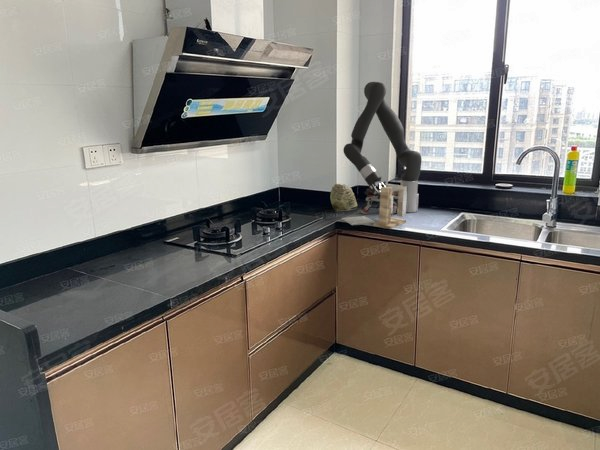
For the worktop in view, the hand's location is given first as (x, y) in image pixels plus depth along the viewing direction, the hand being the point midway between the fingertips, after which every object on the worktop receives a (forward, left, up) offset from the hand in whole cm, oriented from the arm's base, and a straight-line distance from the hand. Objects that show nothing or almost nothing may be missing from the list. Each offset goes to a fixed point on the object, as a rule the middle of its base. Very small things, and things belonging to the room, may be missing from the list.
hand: (389, 200), depth 222 cm
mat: (+14, -5, -11) cm, 19 cm away
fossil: (+10, -32, -11) cm, 36 cm away
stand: (+2, +5, -11) cm, 12 cm away
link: (-2, +3, -7) cm, 8 cm away
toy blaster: (-5, -16, -11) cm, 20 cm away
